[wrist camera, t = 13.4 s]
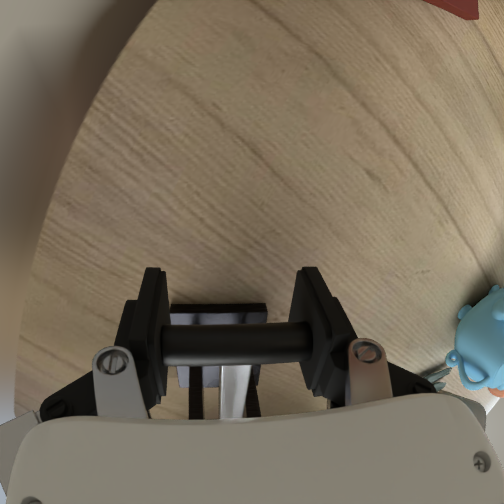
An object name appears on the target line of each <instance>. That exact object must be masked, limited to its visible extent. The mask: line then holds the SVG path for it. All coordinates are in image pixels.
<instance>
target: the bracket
mask: <svg viewBox="0 0 504 504" xmlns="http://www.w3.org/2000/svg"><path fill="white" fill-rule="evenodd" d="M267 314H268V311H267V307H266V304H265V303H257V304H171V306H170V319H171V325H210V324H255V323H266V322H267ZM176 367H177V374H178V380H179V387H182V388H189V420H205V415H204V388H203V387H219V366H176ZM260 367H261V364H260V365H252V368H251V373H250V379H249V384H248V390H247V395H246V401H245V406H244V411H243V417H242V418H255V417H261V412H260V406H259V401H258V395H257V389H256V386H258V382H259V375H260Z"/></svg>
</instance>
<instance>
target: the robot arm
mask: <svg viewBox="0 0 504 504" xmlns="http://www.w3.org/2000/svg"><path fill="white" fill-rule="evenodd" d="M300 321H306V322H308V324H309V325H310V328H311V331H312V337H313V350H312V355H311V358H310V360H308V361H302V362H299V363H300V366H301V370H302V373H303V376H304V380H305V383H306V386H307V389H308V390H310V389H312V392H313V396H314V397H317V396H323V397H325V398H327V410H321V411H313V412H306V413H297V414H288V415H279V416H268V417H255V418H239V419H213V420H167V419H152V418H151V415H150V411H149V409H151V408H152V407H153V406H155V405H156V404H161V396H166V389H167V374H168V366H164V365H163V363H162V358H161V329H162V326H163V325H164V324H170V325H171V319H170V310H169V300H168V291H167V280H166V272H165V271H161V269H160V268H152V267H147V268H146V270H145V273H144V277H143V281H142V285H141V288H140V292H139V296H138V300H127V301H126V303H125V306H124V310H123V313H122V317H121V321H120V324H119V328H118V332H117V335H116V339H115V343H114V346H109V347H106V348H103V349H102V350H100V351H99V352H98V353H97V354H96V355H95V356H94V358H93V361H92V371H90V372H89V373H87V374H85V375H84V376H82V377H81V378H79V379H77V380H76V381H74V382H72V383H71V384H69V385H67V386H66V387H64V388H62V389H61V390H59V391H57V392H56V393H54V394H52V395H51V396H49V397H48V398H46V399H45V400H44V401H43V403H42V404H41V407H40V410H39V411H37V412H34V411H33V410H31V411H29V412H27V413H25V414H23V415H21V416H19V417H17V418H15V419H12V420H10V421H8V422H6V423H4V424H2V425H0V483H1V485H2V487H3V490H4V492H5V494H6V496H7V500H6V504H504V469H503V467H502V465H501V463H500V461H499V459H498V456H497V454H496V452H495V450H494V448H493V446H492V444H491V442H490V440H489V439H488V437H487V435H486V433H485V426H486V411H485V409H484V407H483V406H482V405H481V404H480V403H478V402H476V401H473V400H470V399H467V398H464V397H461V396H458V395H455V394H452V393H450V392H447V391H444V390H441V389H440V391H439V392H437V391H436V388H435V387H434V385H433V384H432V383H431V382H430V381H428V380H427V379H425V378H422V377H420V376H418V375H416V374H414V373H412V372H409V371H407V370H405V369H403V368H401V367H399V366H396V365H394V364H392V363H390V362H388V361H387V358H386V353H385V350H384V348H383V347H382V346H381V345H380V344H379V343H378V342H376V341H374V340H372V339H368V338H358V337H357V335H356V333H355V331H354V329H353V327H352V325H351V323H350V321H349V319H348V317H347V315H346V313H345V312H344V310H343V308H342V306H341V304H340V302H339V300H338V299H337V298H336V297H332V295H331V293H330V291H329V289H328V287H327V285H326V283H325V281H324V279H323V278H322V276H321V274H320V272H319V270H318V268H317V267H302V269H301V270H298V271H297V275H296V281H295V287H294V292H293V298H292V303H291V309H290V314H289V320H288V322H300Z"/></svg>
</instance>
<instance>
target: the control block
mask: <svg viewBox="0 0 504 504" xmlns="http://www.w3.org/2000/svg"><path fill="white" fill-rule="evenodd" d="M423 1H426V2H428V3H430V4H433V5H435V6H437V7H440V8H442V9H444V10H446V11H448V12H450V13H453V14H455V15H457V16H459V17H461V18H463V19H465V20H478V19H479V12H478V0H423Z"/></svg>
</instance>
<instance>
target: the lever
mask: <svg viewBox="0 0 504 504" xmlns="http://www.w3.org/2000/svg"><path fill="white" fill-rule="evenodd" d="M312 350H313V337H312V331H311V328H310V325H309V324H308V322H306V321H300V322H280V323H255V324H210V325H170V324H164V325H163V326H162V329H161V358H162V363H163V365H164V366H219V419H239V418H242V417H243V411H244V406H245V401H246V395H247V390H248V384H249V379H250V373H251V368H252V365H260V364H276V363H290V362H302V361H308V360H310V358H311V355H312Z"/></svg>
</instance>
